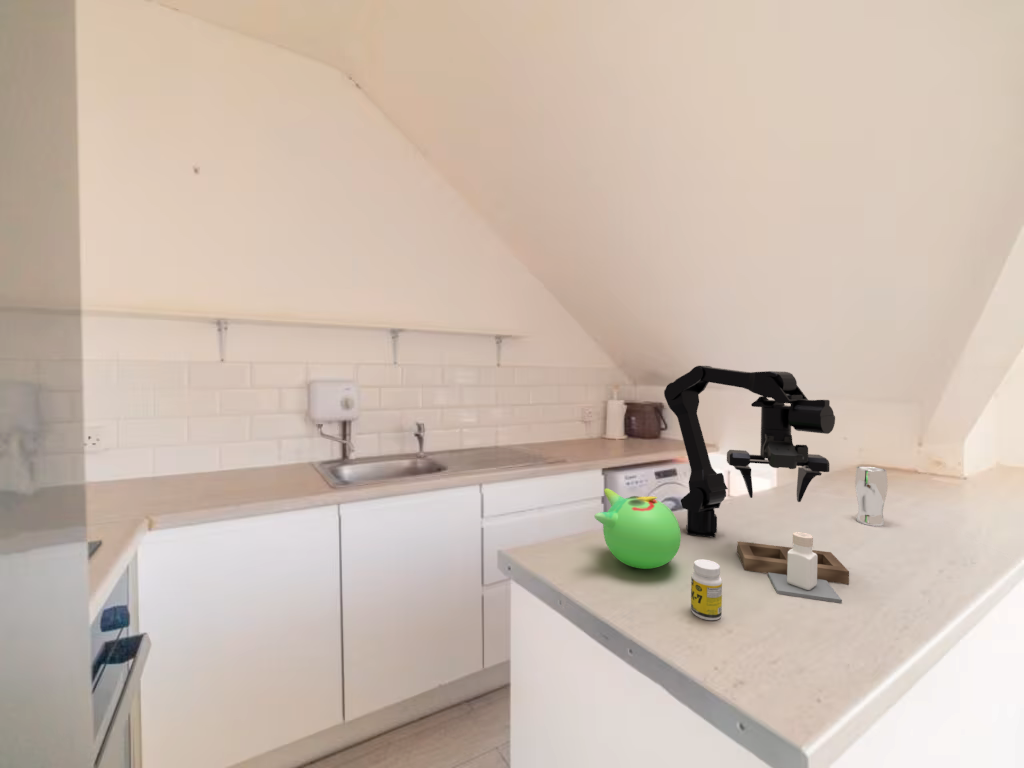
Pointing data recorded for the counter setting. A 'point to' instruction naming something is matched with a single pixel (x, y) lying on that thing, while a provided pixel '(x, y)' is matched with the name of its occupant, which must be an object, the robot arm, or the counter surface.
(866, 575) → the counter surface
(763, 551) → the wooden compartment tray
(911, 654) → the counter surface
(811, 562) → the pepper shaker
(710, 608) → the supplement bottle
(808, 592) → the rubber pad
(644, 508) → the toy bird
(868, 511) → the beer glass
